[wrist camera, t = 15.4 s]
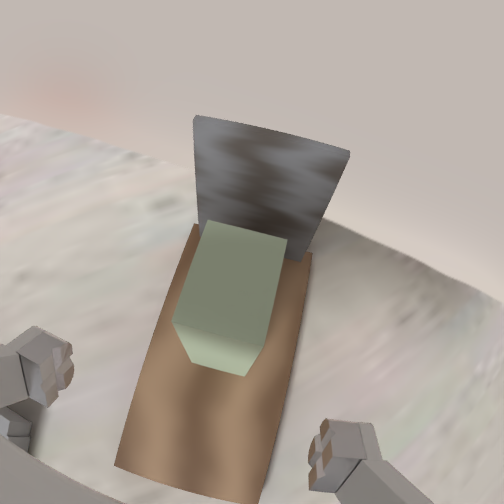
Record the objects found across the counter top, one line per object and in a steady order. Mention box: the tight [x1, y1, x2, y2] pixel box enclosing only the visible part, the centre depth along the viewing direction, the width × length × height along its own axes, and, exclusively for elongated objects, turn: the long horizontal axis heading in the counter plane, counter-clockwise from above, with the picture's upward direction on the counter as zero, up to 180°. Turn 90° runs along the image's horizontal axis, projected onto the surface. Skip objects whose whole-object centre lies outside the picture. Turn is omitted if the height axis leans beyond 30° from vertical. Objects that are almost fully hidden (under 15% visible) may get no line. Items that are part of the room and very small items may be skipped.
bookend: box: [114, 115, 350, 504], centre depth 20 cm, size 12×24×16 cm, turn 167°
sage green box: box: [171, 220, 287, 377], centre depth 21 cm, size 4×6×12 cm
